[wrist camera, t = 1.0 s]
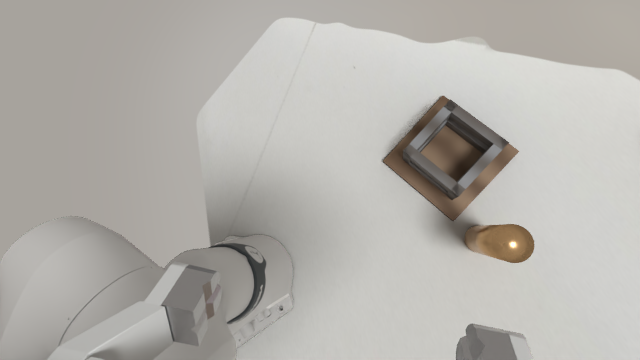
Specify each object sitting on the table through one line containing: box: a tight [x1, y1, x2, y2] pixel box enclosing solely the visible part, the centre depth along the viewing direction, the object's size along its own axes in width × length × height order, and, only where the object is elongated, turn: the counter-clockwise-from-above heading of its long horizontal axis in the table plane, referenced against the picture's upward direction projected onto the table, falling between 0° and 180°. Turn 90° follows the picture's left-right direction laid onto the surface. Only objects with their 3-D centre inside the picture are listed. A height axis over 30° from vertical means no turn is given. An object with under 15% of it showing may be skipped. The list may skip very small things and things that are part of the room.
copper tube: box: [465, 224, 534, 263], centre depth 49 cm, size 4×4×18 cm
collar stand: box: [383, 96, 519, 221], centre depth 56 cm, size 16×16×8 cm
